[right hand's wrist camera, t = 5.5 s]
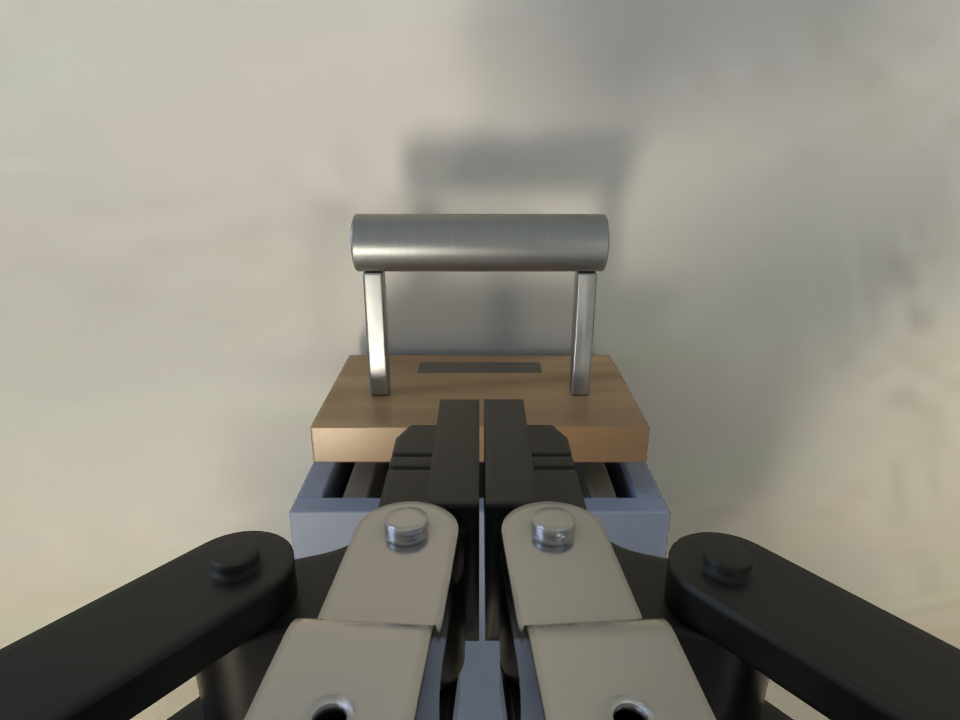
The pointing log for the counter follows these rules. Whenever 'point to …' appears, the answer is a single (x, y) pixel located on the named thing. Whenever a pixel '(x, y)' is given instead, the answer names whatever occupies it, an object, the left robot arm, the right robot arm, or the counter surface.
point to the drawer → (428, 378)
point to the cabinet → (333, 520)
